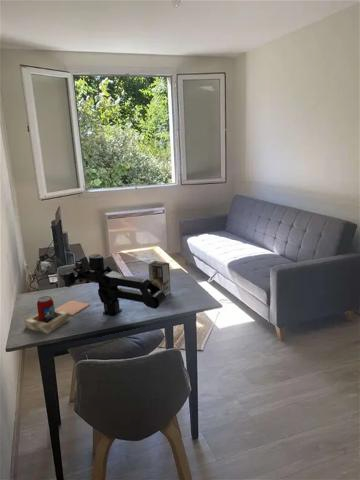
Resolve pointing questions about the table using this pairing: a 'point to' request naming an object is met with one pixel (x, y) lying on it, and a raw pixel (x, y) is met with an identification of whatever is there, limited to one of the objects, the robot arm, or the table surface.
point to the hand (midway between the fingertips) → (66, 272)
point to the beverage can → (46, 309)
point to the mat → (72, 307)
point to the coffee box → (160, 275)
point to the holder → (50, 326)
